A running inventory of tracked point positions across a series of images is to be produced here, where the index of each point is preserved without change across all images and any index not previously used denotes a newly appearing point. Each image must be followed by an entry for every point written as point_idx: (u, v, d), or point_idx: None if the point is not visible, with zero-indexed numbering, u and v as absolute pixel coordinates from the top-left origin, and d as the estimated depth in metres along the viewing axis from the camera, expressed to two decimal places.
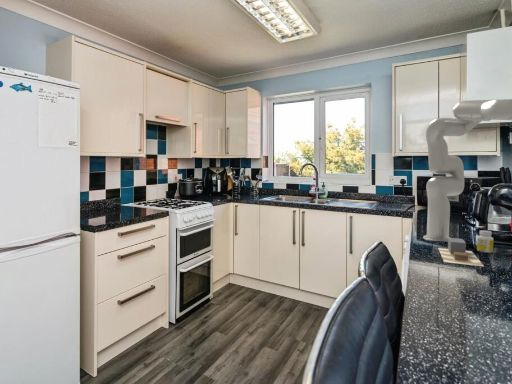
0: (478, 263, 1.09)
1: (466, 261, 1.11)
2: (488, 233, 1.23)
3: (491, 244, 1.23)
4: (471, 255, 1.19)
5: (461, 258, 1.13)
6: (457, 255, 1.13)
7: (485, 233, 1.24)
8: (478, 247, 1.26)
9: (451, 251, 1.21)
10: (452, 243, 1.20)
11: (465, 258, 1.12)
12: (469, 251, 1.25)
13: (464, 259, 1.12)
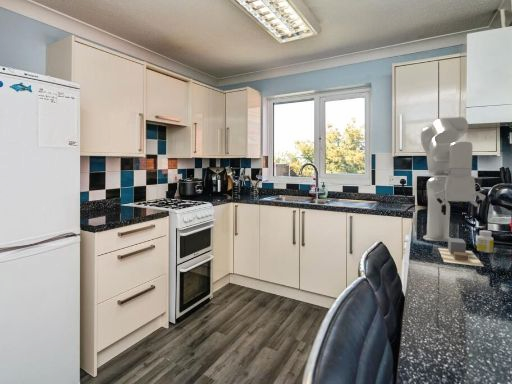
0: (478, 263, 1.09)
1: (466, 261, 1.11)
2: (488, 233, 1.23)
3: (491, 244, 1.23)
4: (471, 255, 1.19)
5: (461, 258, 1.13)
6: (457, 255, 1.13)
7: (485, 233, 1.24)
8: (478, 247, 1.26)
9: (451, 251, 1.21)
10: (452, 243, 1.20)
11: (465, 258, 1.12)
12: (469, 251, 1.25)
13: (464, 259, 1.12)
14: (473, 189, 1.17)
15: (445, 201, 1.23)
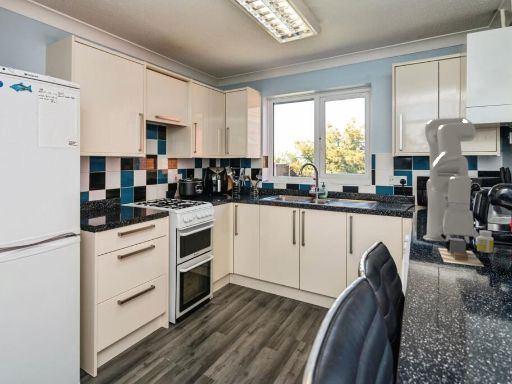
0: (478, 263, 1.09)
1: (466, 261, 1.11)
2: (488, 233, 1.23)
3: (491, 244, 1.23)
4: (471, 255, 1.19)
5: (461, 258, 1.13)
6: (457, 255, 1.13)
7: (485, 233, 1.24)
8: (478, 247, 1.26)
9: (451, 251, 1.21)
10: (452, 243, 1.20)
11: (465, 258, 1.12)
12: (469, 251, 1.25)
13: (464, 259, 1.12)
14: (471, 224, 1.18)
15: (448, 237, 1.23)
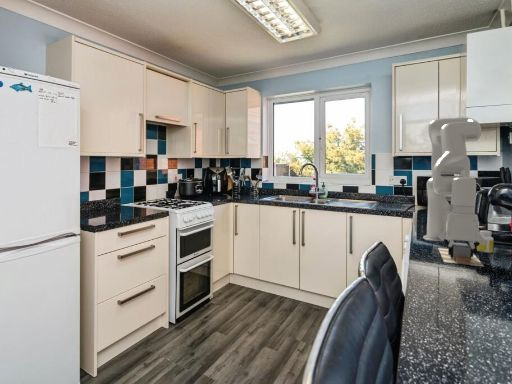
0: (478, 263, 1.09)
1: None
2: (488, 233, 1.23)
3: (491, 244, 1.23)
4: None
5: (464, 262, 1.08)
6: (459, 259, 1.08)
7: (485, 233, 1.24)
8: (478, 247, 1.26)
9: (455, 256, 1.12)
10: (456, 248, 1.12)
11: (468, 261, 1.07)
12: None
13: (467, 263, 1.07)
14: (476, 229, 1.10)
15: (451, 242, 1.15)
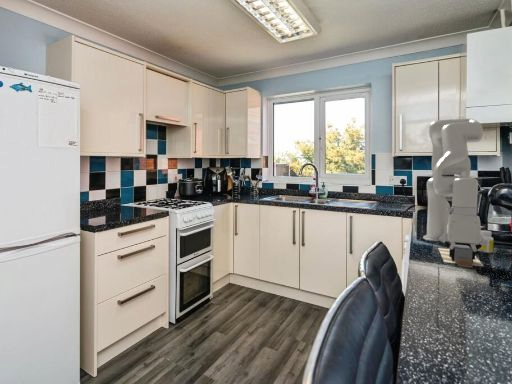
0: (478, 263, 1.09)
1: None
2: (488, 233, 1.23)
3: (491, 244, 1.23)
4: None
5: None
6: (461, 266, 1.05)
7: (485, 233, 1.24)
8: None
9: (456, 259, 1.10)
10: (457, 250, 1.09)
11: None
12: None
13: None
14: (478, 231, 1.07)
15: (452, 244, 1.12)
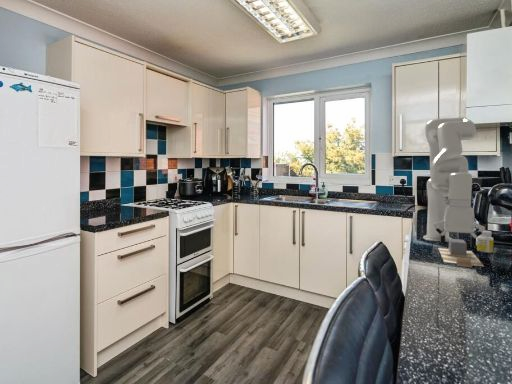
0: (478, 263, 1.09)
1: None
2: (488, 233, 1.23)
3: (491, 244, 1.23)
4: (471, 255, 1.19)
5: None
6: (460, 266, 1.06)
7: (485, 233, 1.24)
8: (478, 247, 1.26)
9: (452, 252, 1.19)
10: (453, 244, 1.19)
11: None
12: (469, 251, 1.25)
13: None
14: (472, 221, 1.17)
15: (444, 232, 1.22)
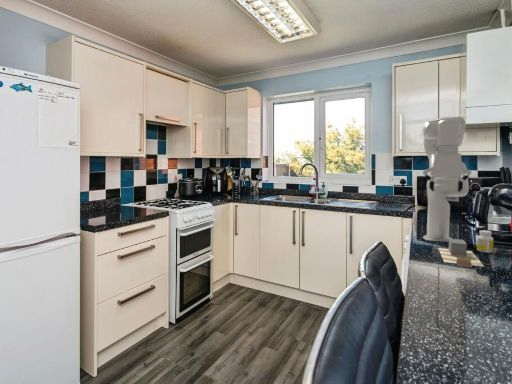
0: (478, 263, 1.09)
1: None
2: (488, 233, 1.23)
3: (491, 244, 1.23)
4: (471, 255, 1.19)
5: None
6: (460, 266, 1.06)
7: (485, 233, 1.24)
8: (478, 247, 1.26)
9: (452, 252, 1.19)
10: (453, 244, 1.19)
11: None
12: (469, 251, 1.25)
13: None
14: (459, 165, 1.22)
15: (433, 178, 1.28)
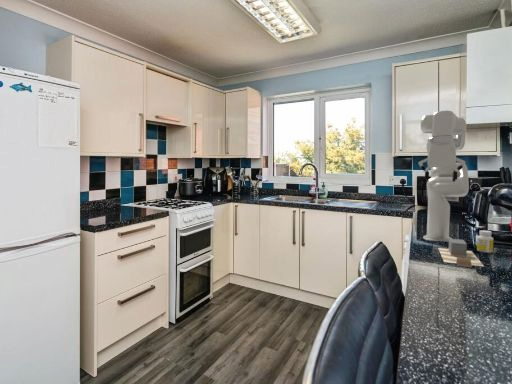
0: (478, 263, 1.09)
1: None
2: (488, 233, 1.23)
3: (491, 244, 1.23)
4: (471, 255, 1.19)
5: None
6: (460, 266, 1.06)
7: (485, 233, 1.24)
8: (478, 247, 1.26)
9: (452, 252, 1.19)
10: (453, 244, 1.19)
11: None
12: (469, 251, 1.25)
13: None
14: (454, 155, 1.24)
15: (428, 168, 1.30)
